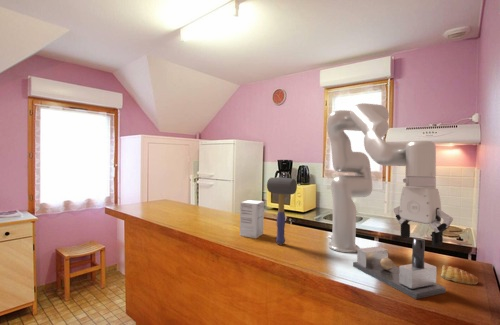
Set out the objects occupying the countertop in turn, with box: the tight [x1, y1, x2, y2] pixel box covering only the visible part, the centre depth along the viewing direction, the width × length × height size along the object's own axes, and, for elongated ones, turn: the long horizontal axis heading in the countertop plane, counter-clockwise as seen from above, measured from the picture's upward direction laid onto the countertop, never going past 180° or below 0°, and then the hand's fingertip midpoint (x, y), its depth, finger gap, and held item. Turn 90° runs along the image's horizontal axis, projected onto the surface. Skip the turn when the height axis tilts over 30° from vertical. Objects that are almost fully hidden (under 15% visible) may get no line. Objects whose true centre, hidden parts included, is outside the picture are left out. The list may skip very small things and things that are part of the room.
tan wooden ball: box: [380, 257, 395, 270], centre depth 89 cm, size 4×4×4 cm
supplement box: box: [239, 199, 265, 239], centre depth 134 cm, size 10×9×17 cm
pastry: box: [440, 264, 479, 285], centre depth 86 cm, size 9×7×4 cm
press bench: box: [352, 246, 447, 300], centre depth 86 cm, size 24×12×6 cm, turn 21°
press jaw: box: [399, 237, 438, 289], centre depth 78 cm, size 4×10×13 cm, turn 111°
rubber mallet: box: [266, 176, 298, 246], centre depth 119 cm, size 12×8×30 cm, turn 56°
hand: (420, 241), depth 78 cm, fingers open, 9 cm apart
